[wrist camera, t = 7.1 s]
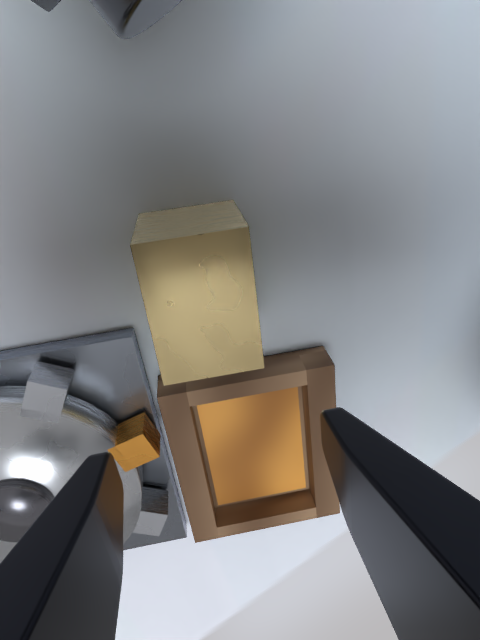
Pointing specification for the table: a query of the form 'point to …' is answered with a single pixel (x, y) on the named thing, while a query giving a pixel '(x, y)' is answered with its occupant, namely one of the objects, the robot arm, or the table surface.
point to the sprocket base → (107, 400)
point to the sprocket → (68, 453)
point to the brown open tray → (253, 444)
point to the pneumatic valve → (125, 13)
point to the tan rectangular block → (199, 290)
